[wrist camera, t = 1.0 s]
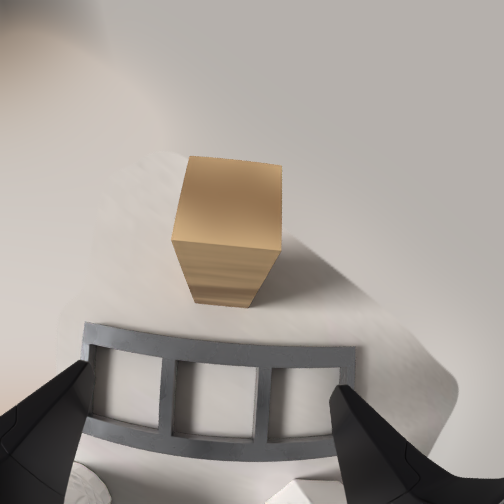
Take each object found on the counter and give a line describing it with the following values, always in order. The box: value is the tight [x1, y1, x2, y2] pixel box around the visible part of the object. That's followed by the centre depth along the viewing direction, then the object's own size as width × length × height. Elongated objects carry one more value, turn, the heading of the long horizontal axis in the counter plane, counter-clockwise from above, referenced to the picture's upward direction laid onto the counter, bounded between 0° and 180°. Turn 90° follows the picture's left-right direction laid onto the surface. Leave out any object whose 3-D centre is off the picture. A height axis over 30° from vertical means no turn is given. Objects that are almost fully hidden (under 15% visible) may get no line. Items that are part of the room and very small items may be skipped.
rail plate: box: [81, 322, 355, 462], centre depth 19 cm, size 10×23×2 cm, turn 87°
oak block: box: [171, 156, 282, 308], centre depth 18 cm, size 4×4×13 cm
